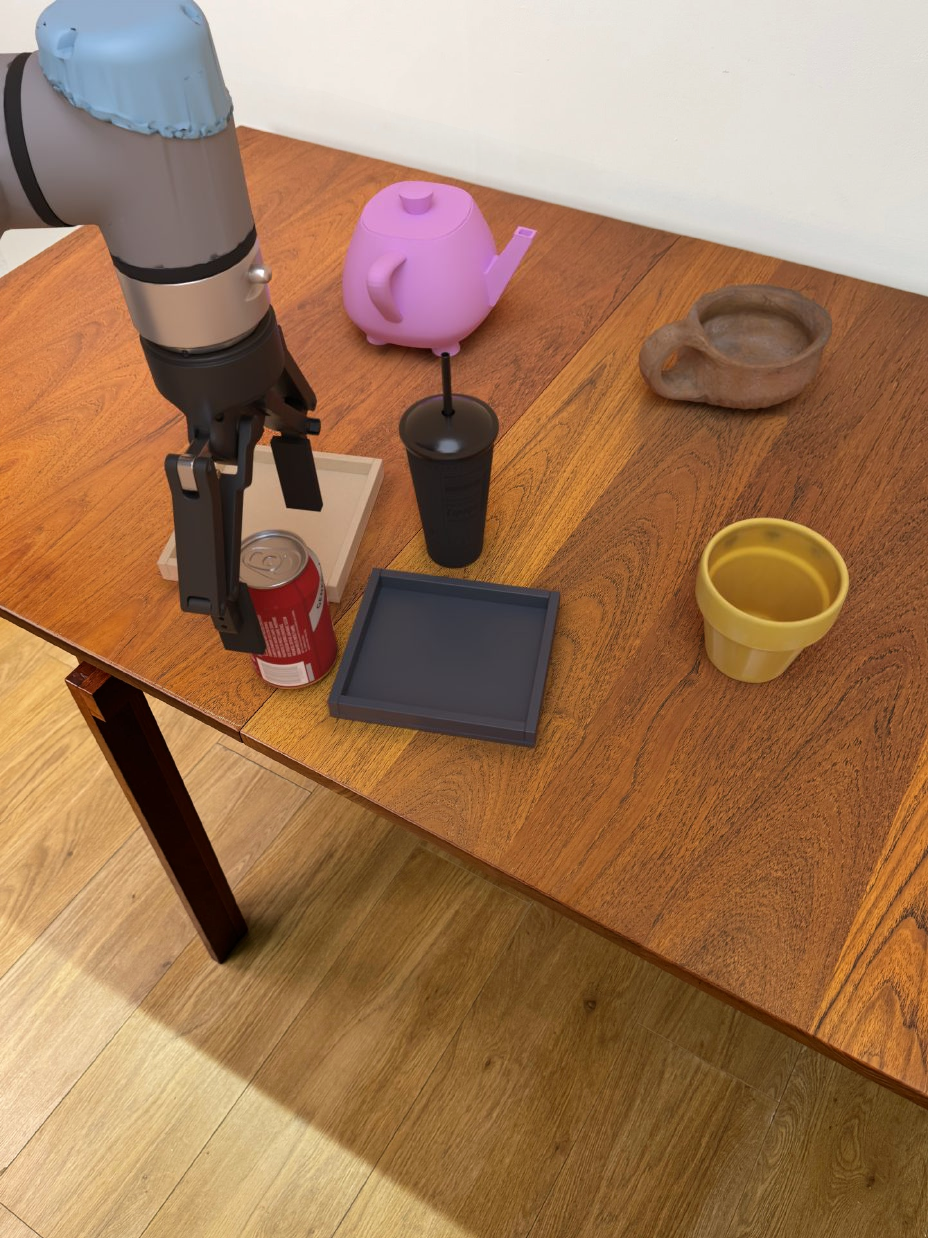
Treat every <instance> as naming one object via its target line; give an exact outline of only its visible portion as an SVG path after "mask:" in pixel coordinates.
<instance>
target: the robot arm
mask: <svg viewBox="0 0 928 1238" xmlns="http://www.w3.org/2000/svg"><path fill="white" fill-rule="evenodd" d="M34 36H35V40H36V45H37V48H38V49H37V50H34V51H32V52H31V51H28V52H27V51H25V52H7V53H5V52H4V53H1V52H0V240H1V239H2V237H3V235H4V234H5V232H8V231H10V230H33V229H34V230H35V229H59V228H75V227H77V226H92V225H93V226H96V227H98V228H99V230H100V232H101V235H102V237H103V240H104V242H105V244H106V247H107V250H108V254H109V256H110V258H111V262H112V264H113V268H114V270H115V274H116V278H117V280H118V283H119V286H120V289H121V292H122V295H123V298H124V302H125V305H126V307H127V311H128V314H129V317H130V320H131V323H132V327H134V328H135V330H136V331H137V332H138V333H139V335H138V336H139V342H140V346H141V349H142V351H143V354H144V357H145V361H146V363H147V366H148V369H149V371H150V374H151V375H150V376H151V377H152V381H153V383H154V386H155V388H156V390H157V391H158V393H159V394H160V395H161V396H162V397H163V399H165V400H166V401H168V402H169V403H170V404H172V405H173V406H174V407H175V408H177V409H178V410H179V411H180V412H181V413H182V414H183V415H184V416H185V421H186V427H187V428H186V430H187V441H188V444H189V445H188V447H187V448H186V449H185V451H184V453H181V454H180V453H171V452H170V453H169V452H168V454H166V456H165V458H164V466H163V467H164V472H165V477H166V479H167V483H168V486H169V490H170V493H171V502H172V516H173V531H174V530H175V543H176V556H177V569H178V581H177V583H178V593H179V605H180V610H181V612H182V613H188V614H194V615H195V614H197V615H202V616H209V617H210V619H211V621H212V623H213V628H214V629H215V630H216V631H217V632H218V635H219V638H220V640H221V642H222V645H223V648H224V650H225V651H229V652H237V653H244V654H249V653H251V654H258V655H264V652H265V650H266V647H267V645H266V642H265V639H264V636H263V633H262V630H261V626H260V623H259V620H258V617H257V614H256V611H255V608H254V604H253V601H252V598H251V595H250V592H249V589H248V586H247V583H243V582H239V578H240V558H241V539H242V519H243V499H244V490H245V489H246V488H248V487H249V486H250V485H251V484H252V478H253V459H254V449H255V446H256V445H258V443H259V441H261V439H262V438H263V435H264V433H265V428H267V429H268V430H271V431H273V432H278V433H280V435H276V434H275V435H274V434H273V435H272V436H271V439H270V441H269V444H270V445H269V446H271V449H272V453H273V457H274V461H275V465H276V469H277V473H278V477H279V481H280V485H281V489H282V493H283V497H284V501H285V505H286V508H289V509H298V510H307V511H316V512H321V510H322V507H323V501H322V496H321V491H320V487H319V482H318V477H317V472H316V467H315V463H314V458H313V453H312V451H313V448H312V444H311V439H310V438H309V437H308V436H318V437H319V436H320V434H321V431H322V421H321V418H318V417H317V418H316V417H309V416H308V413H309V412H314V411H316V407H317V405H318V399H317V395H316V393H315V391H314V390H313V388H312V387H311V385H310V383H309V382H308V381H307V378H306V377H305V375H304V374H303V372H302V370H301V368H300V367H299V365H298V364H297V362H296V360H295V359H294V357H293V356H292V354H291V352H290V351H289V349H288V346H287V343H286V339H285V336H284V332H283V328H282V326H281V325H280V324H278V320H277V315H276V311H275V309H274V307H273V305H272V304H271V292H270V287H269V283H270V282H271V281H272V280H273V279H272V278H273V271H272V268H271V266H269V264H264V260H263V254H262V250H261V246H260V241H259V237H258V233H257V228H256V221H255V217H254V214H253V210H252V205H251V199H250V194H249V191H248V190H249V189H248V184H247V180H246V175H245V174H246V173H245V169H244V165H243V164H244V163H243V158H242V155H241V149H240V143H239V139H238V134H237V133H238V132H237V128H236V123H235V117H234V110H235V109H234V102H233V98H232V96H231V94H230V91H229V89H228V87H227V86H226V82H225V79H224V75H223V72H222V68H221V65H220V60H219V57H218V53H217V50H216V46H215V42H214V39H213V35H212V31H211V28H210V24H209V22H208V18H207V16H206V15H205V13H204V11H203V10H202V8H201V7H200V6H199V5H198V3H197V2H196V1H195V0H55V1H53V2H52V3H50V4H49V5H48V6H46V7H45V8H44V9H43V11H41V13H40V14H39V16H38V18H37V20H36V22H35V29H34ZM214 462H215V463H217V464H223V465H232V466H237V473H236V474H227V473H221V472H220V470H219V469H216V468H215V463H214Z"/></svg>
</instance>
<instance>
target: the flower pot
mask: <svg viewBox="0 0 928 1238" xmlns="http://www.w3.org/2000/svg"><path fill="white" fill-rule="evenodd" d="M694 588H695V589H694V590H695V591H694V592H695V600H696V603H697V606H698V609H699V611H700V613H701V614H702V617H703V630H704V648H705V652H706V654H707V657H708V659H709V662H711V664H712V665H713V666H714V667H715V668H716V669H717V670H718V671H720V673H722V674H723V675H725V676H726V677H728V678H731V679H733V680H736V681H739V682H743V683H749V684H760V683H767V682H770V681H772V680H774V679H776V678H778V677H780V676H781V675H783V673H784V672H785V671H786V670H787V669H788V668H789V667H790V666H791V664H792V663H793V662H794V661H795V660H796V659H797V657H798V656H799V655H800V654H801V653H802V652H803V650H804V649H805V648H808V647H810V646H811V645H813V644H815V643H817V642H818V641H819V640H821V639H822V638H824V637H825V636H826V634H827V633H828V632H829V631H830V630H831V628H832V627H833V625H834V623H835V621H836V620H837V618H838V616H839V614H840V612H841V610H842V608H843V605H844V603H845V600H846V598H847V595H848V593H849V588H850V575H849V570H848V567H847V565H846V562H845V560H844V558H843V556H842V555H841V553H840V552H839V550H838V549H837V548H836V547H835V546H834V544H832V543H831V541H829V540H828V539H826V538H825V537H824V536H823V535H821V534H820V533H818V532H817V531H815V530H813V529H812V528H809V527H808V526H806V525H803V524H800V523H797V522H795V521H791V520H786V519H783V518H776V517H775V518H774V517H754V518H747V519H746V518H745V519H742V520H739V521H735V522H733V523H731V524H728V525H727V526H725V527H723V528H722V529H720V530H719V531H718V532H716V533H715V534H714V535H713V536H712V537H711V539H709V541H708V542H707V544H706V545H705V547H704V549H703V551H702V554H701V557H700V561H699V564H698V568H697V574H696V580H695V587H694Z"/></svg>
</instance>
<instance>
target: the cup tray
mask: <svg viewBox="0 0 928 1238" xmlns="http://www.w3.org/2000/svg"><path fill="white" fill-rule="evenodd" d="M312 453H313V458H314V463H315V467H316V472H317V477H318V482H319V487H320V491H321V496H322V501H323V507H322V510H321V512H316V511H307V510H298V509H289V508H286V505H285V501H284V497H283V493H282V489H281V485H280V481H279V477H278V473H277V469H276V465H275V461H274V457H273V453H272V449H271V445H263V444H256V446H255V449H254V459H253V478H252V484H251V485H250V486H249V487H248V488H246V489H245V490H244V499H243V519H242V539H241V541H242V540H243V539H245V538H246V537H248V536H250V535H252V534H254V533H256V532H259V531H263V530H269V529H281V530H286V531H290V532H292V533H295V534H296V535H298V536H299V537H301V538H302V539H303V540H304V542H305V543H306V545H307V547H308V548H310V549H311V550H312V551H313V552H314V553H315V554H316V556H317V558H318V559H319V562H320V565H321V569H322V574H323V579H324V584H325V588H326V593H327V598H328V603H337V604H339V603H340V602H341V599H342V597H343V594H344V590H345V589H346V585H347V582H348V580H349V578H350V574H351V572H352V568H353V566H354V563H355V560H356V557H357V554H358V552H359V549H360V546H361V543H362V540H363V537H364V535H365V532H366V529H367V526H368V523H369V521H370V517H371V515H372V512H373V509H374V507H375V504H376V502H377V499H378V495H379V492H380V490H381V487H382V485H383V482H384V478H385V468H384V460H383V459H382V458H376V457H369V456H360V455H352V454H343V453H335V452H325V451H317V450H312ZM214 463H215V462H214ZM215 468H216V469H219V470H220V472H221V473H227V474H236V473H237V466H232V465H223V464H217V463H215ZM156 565H157V567H158V570H159V572H160V574H161V577H162V579H163V580H165V581H166V580H167V581H173V582H178V569H177V556H176V543H175V530H174V529H173V531H172V533H171V534H170V537H169V539H168V540H167V543H166V544H165V547H164V548H163V550H162V552H161V554H160V556H159V558H158V560H157V562H156Z"/></svg>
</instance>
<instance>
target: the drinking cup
mask: <svg viewBox="0 0 928 1238" xmlns="http://www.w3.org/2000/svg"><path fill="white" fill-rule="evenodd" d="M440 366H441V367H440V368H441V370H440V371H441V386H442V393H436V394H432V395H429V396H426V397H423V398H420V399H418V400H417V401H415V402H414V403H412V404H411V405H410V406H408V408H406V409H405V410H404V412H403V413H402V415H401V417H400V419H399V423H398V437H399V439H400V441H401V443H402V445H403V446H404V448H405V453H406V457H407V461H408V466H409V471H410V476H411V480H412V486H413V490H414V495H415V498H416V504H417V510H418V513H419V519H420V522H421V523H420V524H421V528H422V533H423V537H424V541H425V546H426V551H427V554H428V557H429V558H430V560H431V561H433V562H434V563H435V564H437V565H439V566H442V567H444V568H447V569H460V568H464V567H467V566H469V565H472V564H473V563H475V562H476V561H477V560H478V559H479V558H480V556H481V555H482V552H483V549H484V541H485V530H486V522H487V513H488V503H489V495H490V494H489V493H490V485H491V478H492V477H491V476H492V467H493V459H494V451H495V450H494V449H495V443H496V441H497V439H498V436H499V434H500V421H499V417H498V415H497V413H496V412H495V410H494V408H492V407H491V405H489V404H488V403H487V402H485V401H484V400H482V399H480V398H479V397H476V396H473V395H469V394H466V393H465V394H464V393H457V392H453V389H452V388H453V387H452V367H451V356H450V353H448V352H443V353H441V357H440Z"/></svg>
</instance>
